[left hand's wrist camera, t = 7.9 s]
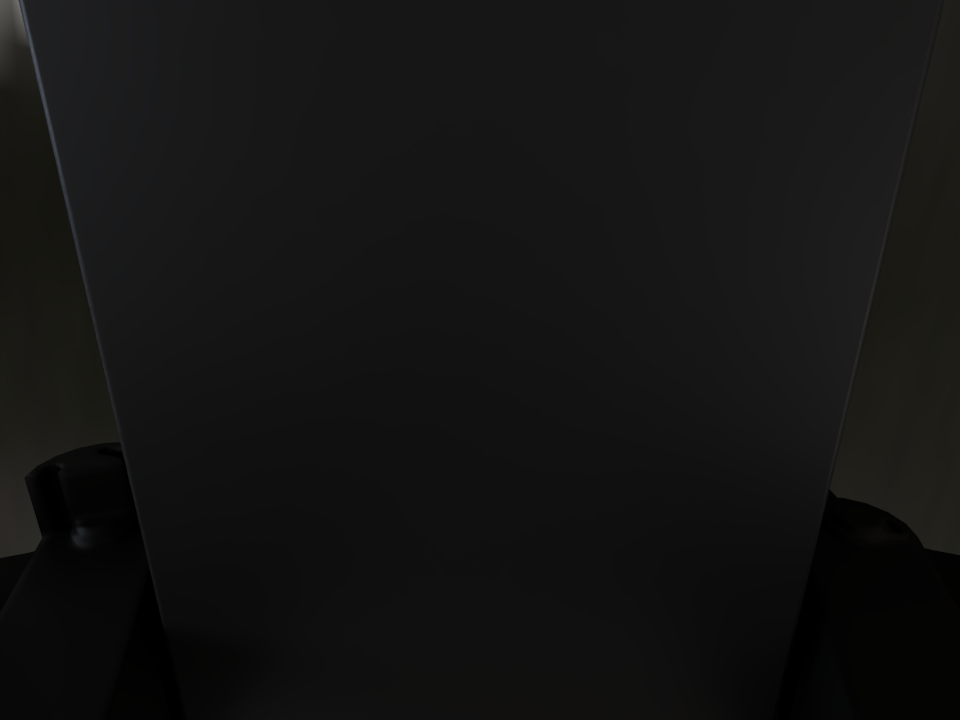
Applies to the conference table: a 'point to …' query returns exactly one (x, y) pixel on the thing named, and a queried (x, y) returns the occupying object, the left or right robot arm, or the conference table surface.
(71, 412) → the conference table surface
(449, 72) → the bar
